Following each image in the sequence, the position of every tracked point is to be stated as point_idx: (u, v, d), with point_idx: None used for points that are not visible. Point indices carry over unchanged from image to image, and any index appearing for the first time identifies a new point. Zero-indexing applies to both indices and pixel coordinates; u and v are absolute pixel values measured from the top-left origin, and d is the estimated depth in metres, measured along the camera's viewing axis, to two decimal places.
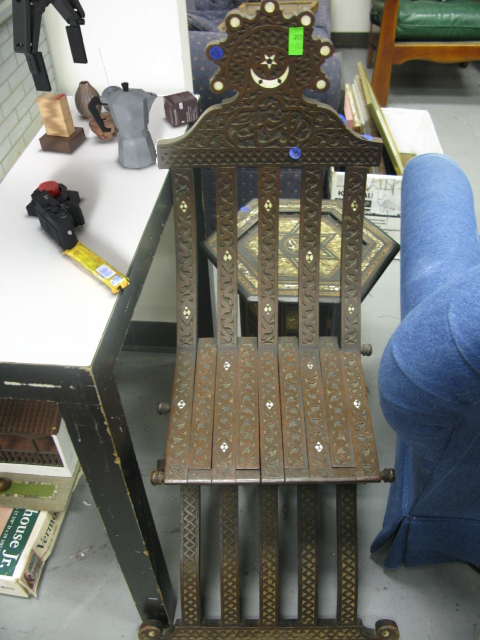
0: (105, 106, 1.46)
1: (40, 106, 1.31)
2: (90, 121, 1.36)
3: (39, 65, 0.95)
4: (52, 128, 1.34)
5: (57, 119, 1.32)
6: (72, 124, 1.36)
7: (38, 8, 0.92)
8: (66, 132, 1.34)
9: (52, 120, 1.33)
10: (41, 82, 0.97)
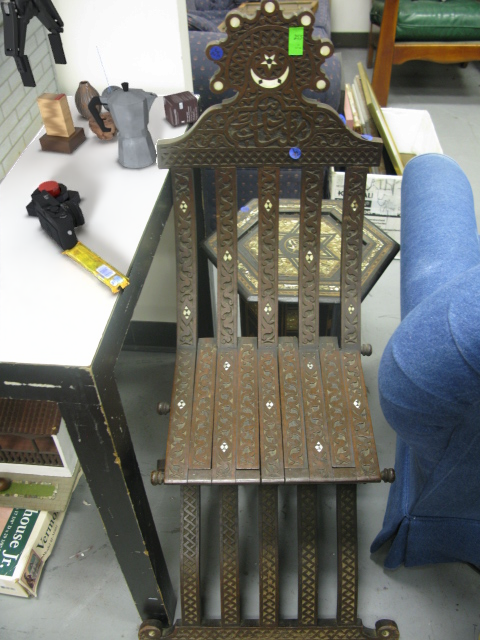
0: (105, 106, 1.47)
1: (40, 106, 1.31)
2: (90, 121, 1.36)
3: (25, 66, 1.18)
4: (52, 128, 1.34)
5: (57, 119, 1.32)
6: (72, 124, 1.36)
7: (24, 20, 1.15)
8: (66, 132, 1.34)
9: (52, 120, 1.33)
10: (27, 79, 1.21)
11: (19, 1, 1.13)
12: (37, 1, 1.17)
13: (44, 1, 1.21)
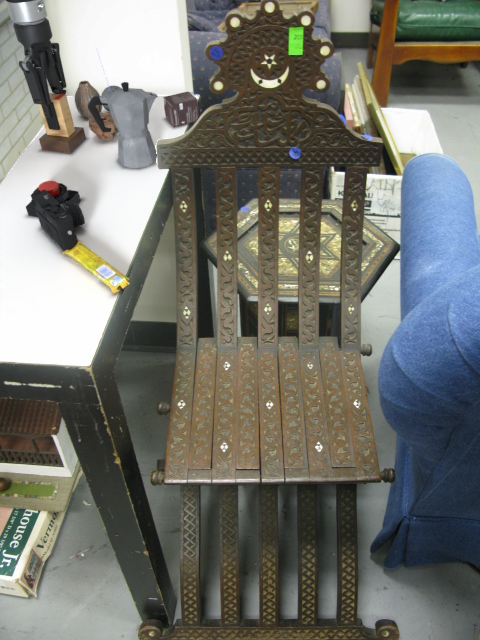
0: (105, 106, 1.47)
1: (40, 106, 1.31)
2: (90, 121, 1.36)
3: (51, 111, 1.30)
4: None
5: None
6: (72, 124, 1.36)
7: (42, 71, 1.24)
8: (66, 132, 1.34)
9: None
10: (52, 123, 1.33)
11: (33, 52, 1.20)
12: (49, 51, 1.24)
13: (54, 56, 1.28)
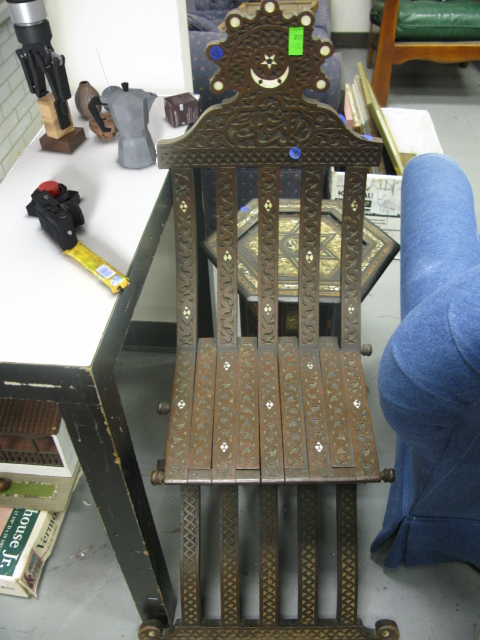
0: (105, 106, 1.47)
1: (51, 109, 1.30)
2: (90, 121, 1.36)
3: None
4: None
5: None
6: None
7: None
8: (73, 125, 1.37)
9: None
10: (66, 121, 1.33)
11: None
12: None
13: (29, 60, 1.28)
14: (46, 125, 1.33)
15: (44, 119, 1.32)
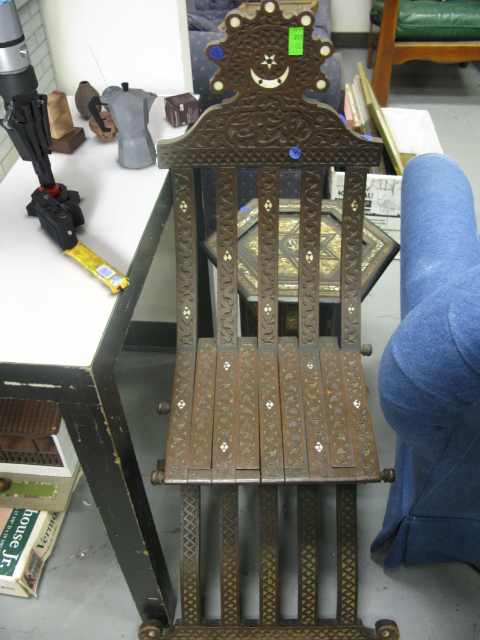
0: (106, 107, 1.47)
1: (51, 109, 1.30)
2: (90, 121, 1.36)
3: (43, 168, 1.10)
4: (62, 128, 1.34)
5: (65, 115, 1.34)
6: None
7: (28, 127, 1.03)
8: (73, 125, 1.37)
9: (61, 119, 1.33)
10: (45, 181, 1.13)
11: (15, 106, 0.99)
12: (35, 102, 1.03)
13: (40, 109, 1.07)
14: None
15: None
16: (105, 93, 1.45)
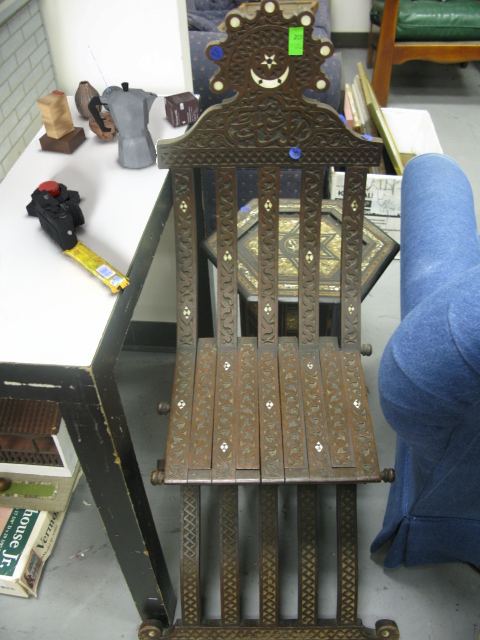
0: (106, 107, 1.47)
1: (51, 109, 1.30)
2: (90, 121, 1.36)
3: None
4: (62, 128, 1.34)
5: (65, 115, 1.34)
6: None
7: None
8: (73, 125, 1.37)
9: (61, 119, 1.33)
10: None
11: None
12: None
13: None
14: (46, 125, 1.33)
15: (44, 119, 1.32)
16: (105, 93, 1.45)
